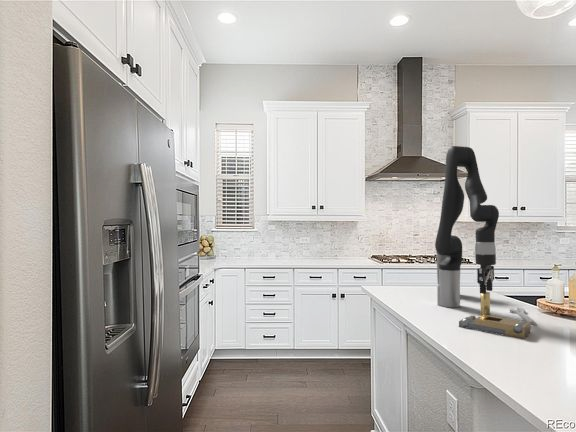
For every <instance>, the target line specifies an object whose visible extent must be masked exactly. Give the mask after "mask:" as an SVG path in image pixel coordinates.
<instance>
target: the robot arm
mask: <svg viewBox="0 0 576 432" xmlns="http://www.w3.org/2000/svg"><path fill="white" fill-rule="evenodd" d="M458 168H464V169H465V170H466V173H467V176H466V180H465V182H464V190H465V193H466V195H467V198H468V200H469V215H470V217H471V219H472V220H473V221H474V222H476V223H484V226H482V227H479V228H476V230H475V246H474V247H475V248H474V249H475V252H474V255H475V257H474V258H475V264H476V265H480V268H478V267H477V271H476V272H477V273H476V276H477V277H476V280H477V281H476V282H477V284H479V294H480V295H481V294H486V292H492V291H493V289H494V288H493V282H494V280H495V267H494V266H495V265H496V264H497V256H496V255H497V254H496V253H497V252H496V251H497V250H496V243H495V239H496V237H495V235H496V234H495V231H496V228H497V225H498V221H499V216H500V211H499V209H498V208H497V206H496V205H494V204H484V203H485V202H486V201H487V200H488V194H487V192H486V190H485V187H484V185H483V183H482V180H481V177H480V172H479V171H480V170H479V167H478V162H477V157H476V154H475V151H474V150H473V148H472V147H469V146H460V145H459V146H458V145H451V146H450V147H449V148H448V150H447V152H446V155H445V175H444V176H445V177H444V178H445V179H444V186H443V187H444V188H443V194H442V201H441V209H440V210H441V212H440V218H439V226H438V229H437V233H436V236H435V237H436V238H435V242H434V246H435V247H434V248H435V251H436V254H437V253H438V254H439V255H446V258H445V259H444V260H443V261H442V262H441V263H440V264H439V285H438V284H437V287H436V288H437V290H436V291H437V301H436V302H437V303H436V304H437V305H438V306H441V307H444V308H459V307H461V265H462V264H463V263H462V262H463V242H462V241H461V239H460V238H459V237H458V236H457V235H453V236H451V235H452V232H453V229H454V227H455V226H454V225H455V223H456V222H457V220H458V219H459V217H460V216H461V214H462V212H463V209H464V203H465V193H464V190H463V187H462V186H461V184H460V182H459V179H458Z"/></svg>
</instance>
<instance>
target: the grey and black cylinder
mask: <svg viewBox="0 0 576 432" xmlns="http://www.w3.org/2000/svg"><path fill="white" fill-rule="evenodd" d="M451 236H454V235H452V234H451ZM445 258H446V255H439V254H438V253H437V252H436V275H437V276H436V277H437V279H436V280H437V285H439V264H440V263H441V262H442V261H443V260H444V259H445Z"/></svg>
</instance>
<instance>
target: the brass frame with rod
mask: <svg viewBox="0 0 576 432" xmlns="http://www.w3.org/2000/svg"><path fill="white" fill-rule="evenodd" d="M458 327H459V328H460V327H461V328H464V329H465V328H466V329H471V330H475V329H476V330H477V331H480V330H482V331H481V332H485V331H487V332H486V333H491V332H492V333H491V334H496V333H497V335H501V334H503V335H502V336H506V335H507V336H508V337H511V336H512V337H513V338H518V339H524V340H525V339H526V338H527V337H528V336H529V335H531V332H532V331H531V328H532V326H531V322H528V321H526V320H523V319H522V320H519V319H513V318H507V317H501V316H496V315H490V316H489V315H481V314H480V316H478V317H476V316H475V315H470V316H466V317H465V318H464V317H463V319H460V320H459V321H458ZM507 336H506V337H507Z"/></svg>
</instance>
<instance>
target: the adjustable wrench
mask: <svg viewBox="0 0 576 432" xmlns="http://www.w3.org/2000/svg"><path fill="white" fill-rule="evenodd" d="M509 311H510V312H509ZM509 311H508V312H509V313H510V314H515V315H517V316H519V317H520V318H521V319H522V320H526V321H528V322H531V325H533V327H537V322H536V321H535V320H533V318H531V317H530V316H529V315H528V314H526V309H525V308H521V307H517V308H516V309H515V308H513V307H509Z"/></svg>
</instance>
